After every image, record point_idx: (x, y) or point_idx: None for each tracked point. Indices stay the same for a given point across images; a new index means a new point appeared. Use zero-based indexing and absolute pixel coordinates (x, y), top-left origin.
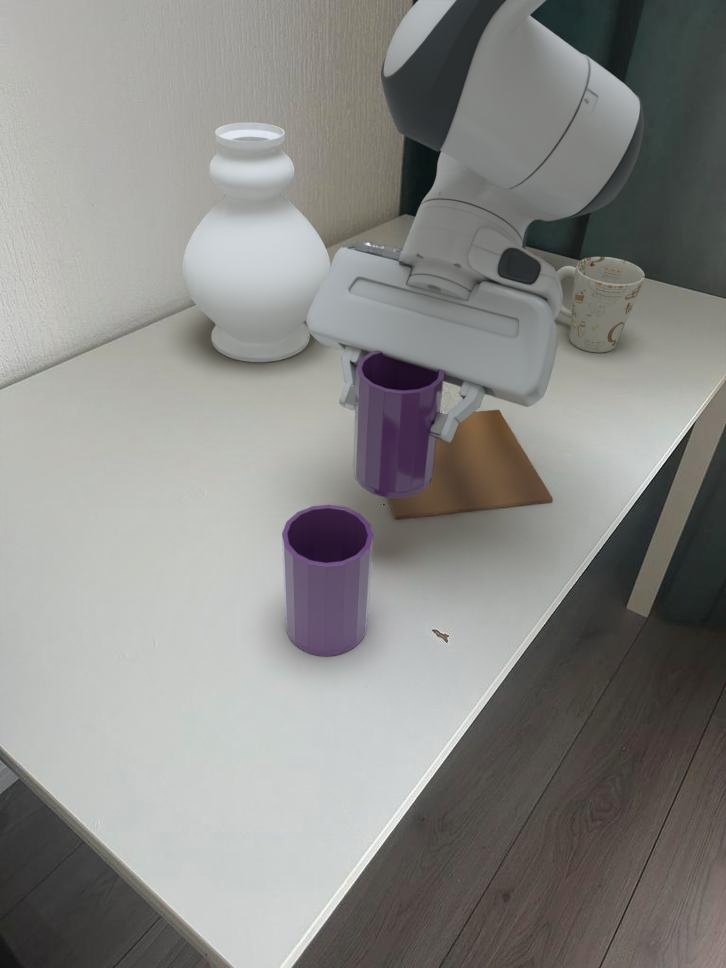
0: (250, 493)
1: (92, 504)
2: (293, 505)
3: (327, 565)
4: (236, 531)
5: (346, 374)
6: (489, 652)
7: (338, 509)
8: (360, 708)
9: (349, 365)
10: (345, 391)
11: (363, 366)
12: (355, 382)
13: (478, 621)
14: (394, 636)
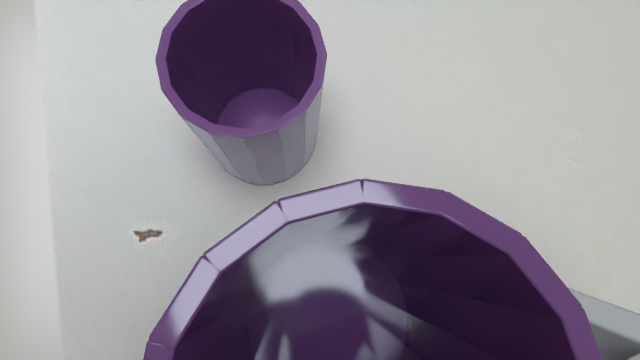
0: (536, 211)
1: (627, 38)
2: None
3: (181, 6)
4: (476, 148)
5: (591, 305)
6: (81, 263)
7: (283, 116)
8: (145, 85)
9: (627, 335)
10: None
11: (534, 298)
12: None
13: (125, 293)
14: (190, 185)
